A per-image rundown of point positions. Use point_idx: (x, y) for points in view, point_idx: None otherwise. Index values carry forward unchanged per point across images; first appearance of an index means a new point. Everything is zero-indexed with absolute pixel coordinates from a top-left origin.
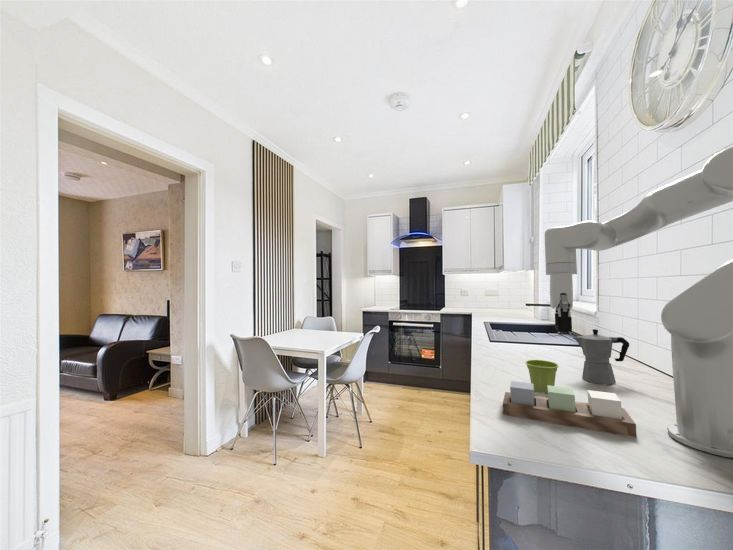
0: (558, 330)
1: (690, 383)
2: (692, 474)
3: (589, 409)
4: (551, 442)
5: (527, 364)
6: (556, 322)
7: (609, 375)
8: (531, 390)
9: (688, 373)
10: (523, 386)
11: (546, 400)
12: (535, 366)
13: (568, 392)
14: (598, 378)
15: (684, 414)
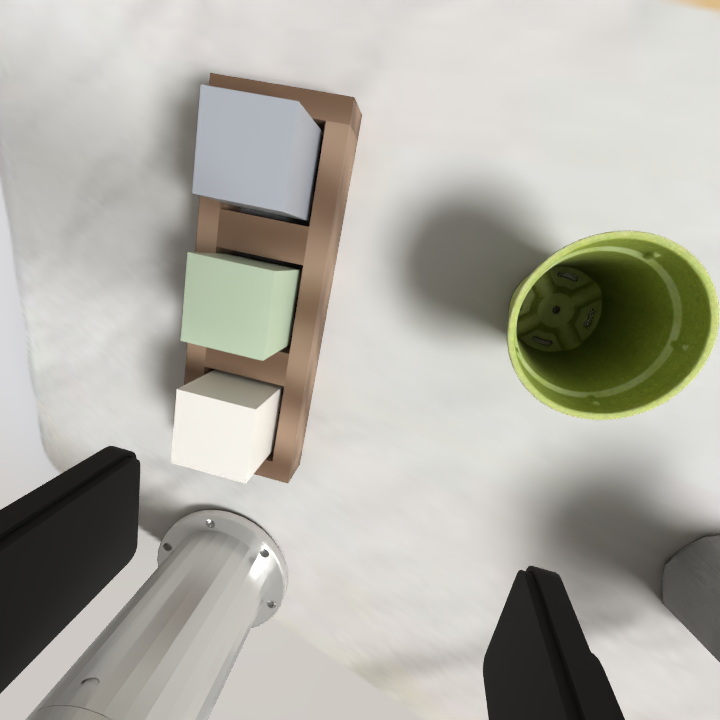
0: (111, 448)
1: (81, 661)
2: (79, 450)
3: (263, 384)
4: (97, 219)
5: (586, 237)
6: (532, 615)
7: (690, 629)
8: (194, 185)
9: (54, 694)
10: (225, 154)
11: (292, 262)
12: (530, 276)
13: (204, 329)
14: (684, 579)
15: (170, 570)
